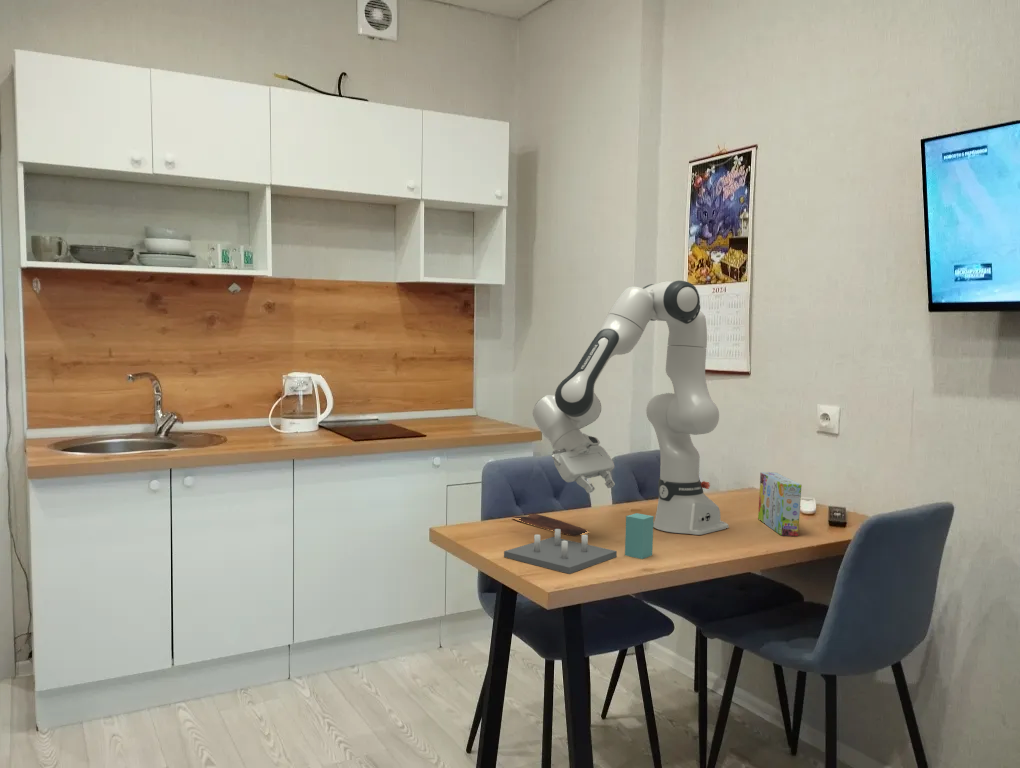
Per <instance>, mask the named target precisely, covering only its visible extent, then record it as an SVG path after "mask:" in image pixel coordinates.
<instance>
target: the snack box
mask: <svg viewBox="0 0 1020 768" xmlns="http://www.w3.org/2000/svg"><path fill="white" fill-rule="evenodd" d="M759 480H760V481H759V498H758V513H757V515H758V516H757V519H760V520H761V521H762V522H761V521H760V520H759V521H760V522H761V523H763V524H764V523H765V524H764V525H766V526H767V527H769V528H770V529H772V530H773V531H774V532H775V533H777V534H778V535H780V536H782V537H798V536H799V531H800V530H799V529H800V527H799V526H800V513H801V501H802V500H801V499H802V487H803V486H802V484H801V483H800V482H797V481H796V480H792V479H791V478H788V477H786V476H784V475H783V474H780V473H778V472H770V471H764V472H763V471H761V472H760V478H759Z"/></svg>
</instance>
